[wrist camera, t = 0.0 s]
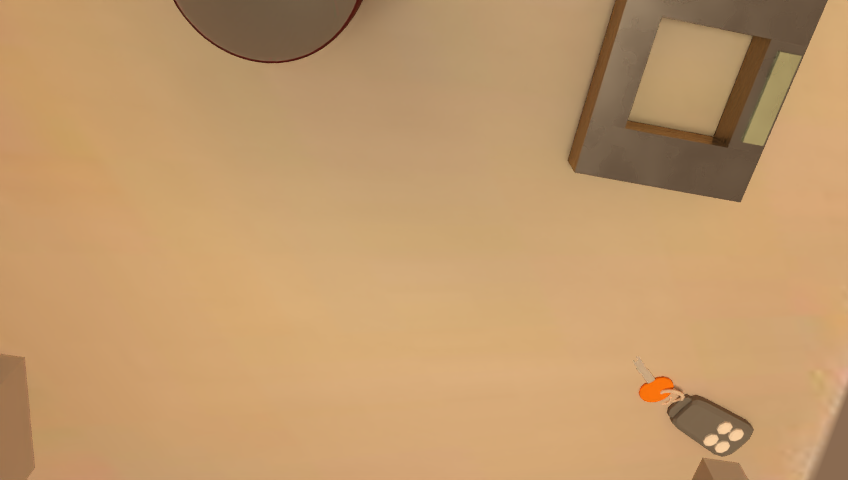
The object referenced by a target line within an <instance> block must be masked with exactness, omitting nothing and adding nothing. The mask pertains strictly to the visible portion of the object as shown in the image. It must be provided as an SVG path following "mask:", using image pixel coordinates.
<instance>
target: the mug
mask: <svg viewBox="0 0 848 480" xmlns="http://www.w3.org/2000/svg"><path fill="white" fill-rule="evenodd" d="M362 1H363V0H174V2H175V4H176V6H177V7H178V9H179V10H180V12H181V13H182V15H183V16H184V17H185V18H186V20H187V21H188V22H189V23H190V24H191V25H192V27H193V28H194V29H195V30H196V31H197V32H198V33H200V34H201V35H202V36H203V37H204V38H205V39H207V40H208V41H209V42H211V43H212V44H213V45H215V46H217V47H218V48H220V49H222V50H224V51H226V52H228V53H230V54H232V55H234V56H237V57H239V58H243V59H246V60H250V61H255V62H262V63H283V62H289V61H294V60H298V59H301V58H304V57H307V56H309V55H311V54H314V53H315V52H317V51H319V50H321V49H322V48H324V47H325V46H326V45H328V44H329V43H330V42H332V41H333V40H334V39H335V38H336V37H337V36H338V35H339V34H340V33H341V32H342V31H343V30H344V28H345V27H346V26H347V25H348V24H349V22H350V21H351V19H352V18H353V17H354V15H355V13H356V12H357V10H358V8H359V7H360V5H361V3H362Z"/></svg>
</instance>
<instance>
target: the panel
mask: <svg viewBox="0 0 848 480" xmlns="http://www.w3.org/2000/svg"><path fill="white" fill-rule="evenodd" d="M827 1H828V0H616V1H615V4H614V8H613V11H612V14H611V18H610V21H609V24H608V28H607V31H606V34H605V38H604V41H603V44H602V48H601V51H600V54H599V58H598V61H597V65H596V68H595V71H594V75H593V78H592V81H591V85H590V88H589V91H588V95H587V98H586V101H585V105H584V108H583V111H582V115H581V118H580V122H579V125H578V128H577V132H576V135H575V138H574V142H573V145H572V148H571V152H570V155H569V158H568V162H569V163H570V165H571V167H572V169H573V171H574V172H575V173H581V174H586V175H592V176H597V177H603V178H608V179H614V180H619V181H625V182H631V183H636V184H642V185H647V186H653V187H658V188H664V189H669V190H675V191H680V192H686V193H691V194H697V195H702V196H708V197H713V198H719V199H724V200H730V201H736V202H741V200H742V198H743V195H744V193H745V191H746V188H747V186H748V184H749V181H750V179H751V177H752V174H753V172H754V170H755V168H756V165H757V163H758V161H759V158H760V156H761V154H762V151H763V149H764V147H765V144H766V142H767V140H768V137H769V135H770V133H771V130H772V128H773V126H774V123H775V121H776V119H777V117H778V114H779V112H780V110H781V107H782V105H783V103H784V100H785V98H786V96H787V93H788V91H789V89H790V86H791V84H792V82H793V79H794V77H795V75H796V72H797V70H798V68H799V66H800V63H801V61H802V59H803V56H804V54H805V52H806V49H807V47H808V45H809V42H810V40H811V38H812V35H813V33H814V31H815V28H816V26H817V24H818V21H819V19H820V17H821V15H822V12H823V10H824V8H825V5H826V3H827ZM662 17H664V18H669V19H674V20H679V21H684V22H689V23H694V24H699V25H704V26H709V27H714V28H719V29H724V30H728V31H733V32H738V33H743V34H748V35H753V39H752V41H751V44H750V46H749V49H748V51H747V54H746V56H745V59H744V61H743V64H742V67H741V69H740V72H739V74H738V77H737V79H736V82H735V84H734V87H733V89H732V92H731V94H730V97H729V100H728V102H727V105H726V107H725V110H724V112H723V115H722V117H721V120H720V122H719V125H718V127H717V130H716V133H715V135H714V137H712V136H707V135H701V134H696V133H691V132H685V131H680V130H675V129H670V128H664V127H659V126H654V125H648V124H643V123H638V122H632V121H627V120H628V117H629V114H630V111H631V108H632V105H633V102H634V99H635V96H636V93H637V90H638V87H639V84H640V81H641V78H642V75H643V72H644V69H645V66H646V63H647V60H648V57H649V54H650V51H651V48H652V45H653V42H654V39H655V36H656V33H657V30H658V27H659V24H660V21H661V18H662Z"/></svg>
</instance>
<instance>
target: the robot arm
mask: <svg viewBox="0 0 848 480" xmlns="http://www.w3.org/2000/svg"><path fill="white" fill-rule="evenodd" d="M34 468H35V463H34V452H33V441H32V431H31V420H30V409H29V398H28V388H27V377H26V366H25V357H18V356H11V355H5V354H0V480H27V478H28V477H29V475H30V474H31V472H32V471H33V470H34ZM692 480H748V478H747V476H746V475H745V473H744V471H743V469H742V467H741V466H740V464H739V463H735V462H728V461H721V460H715V459H708V458H702V460H701V462H700V464H699V466H698V468H697V470H696V472H695V474H694V476H693V478H692Z"/></svg>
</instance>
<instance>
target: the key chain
mask: <svg viewBox="0 0 848 480" xmlns="http://www.w3.org/2000/svg"><path fill="white" fill-rule="evenodd" d="M636 358H637V359H638V360H637V362H636V363H635V361H634V360H633V363H634V365H635V366H636V367H637V368H636V369H637V370H638V372H639V373H641V374H642V376H643V377H644V379H645V380H646V381H647V383H645V384H643V386H642V387H641V388H640V391H639V394H640V397H641V399H643V400H644V401H647V402H657V401H660V400H663V399H665V398H666V397H668V396H669V395H670V393H675V394H678V395H680V396H681V397H679V398H677V399H675V400H673V401H672V403H673V404H672V405H671V406H670V407H669V408H668V410H667V413H668V415H669V416H670V419H671V421H672V423H673V424H674V425H675V426H676V427H677V428H678V429H679V430H681V431H682V432H683V433H685V434H686V435H688V436H689V437H690V438H692V439H693V440H695V441H696V442H698V443H699V444H700V445H702V446H703V447H705V448H706V449H708V450H709V451H711V452H712V453H714V454H716V455H719V456H722V457H723V456H727V455H730V454H732V453H733V452H735V451H736V450H737V449H739V448H740V447H741V446H742V445H743V444H744V443H746V442H747V441H748V440H749V439H750V437H751V435H752V433H753V430H754V429H753V428H752V426H751V425H750V424H749V423H748V422H747V421H746V420H745V419H743V418H741V417H740V416H738V415H736V414H734V413H732V412H730V411H728V410H726V409H725V408H723V407H721V406H719V405H717V404H715V403H713V402H711V401H709V400H707V399H705V398H703V397H700V396H697V395H693V396H689V395H688V394H685V395H684V394H683V393H682V392H680V391H678V390H675V389H673V387H674V386H673V383H672V381H671V380H670V379H669V378H666V377H656V378H654V377H653V375H652V374H651V372H650V371H649V370H648V369H647V368H646V367H645V365H644V363H643V361H642V360H641V359H640V357H639V356H636ZM671 400H672V397H670V399H669V401H668V402H666V403H661V404H662V405H667V404H669V403H670V402H671Z"/></svg>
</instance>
